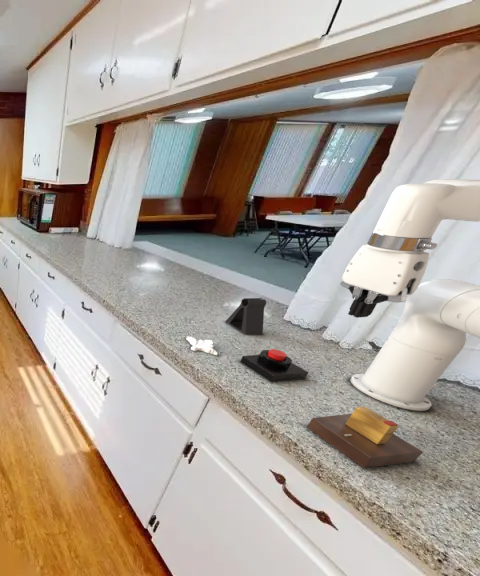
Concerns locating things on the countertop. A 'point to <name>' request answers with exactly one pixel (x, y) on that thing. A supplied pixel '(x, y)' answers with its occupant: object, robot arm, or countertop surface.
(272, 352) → the button
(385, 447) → the plate
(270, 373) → the black button base
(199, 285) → the countertop surface
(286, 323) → the countertop surface
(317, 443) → the countertop surface
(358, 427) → the block
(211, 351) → the acanthus leaf ornament
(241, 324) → the phone stand
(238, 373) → the countertop surface
